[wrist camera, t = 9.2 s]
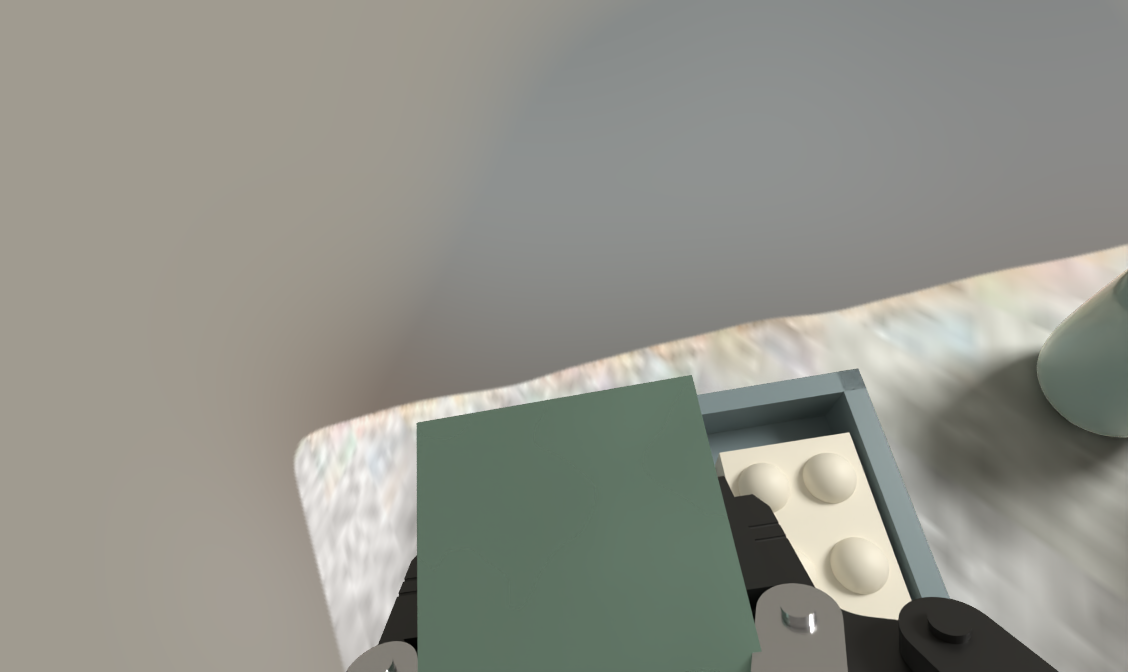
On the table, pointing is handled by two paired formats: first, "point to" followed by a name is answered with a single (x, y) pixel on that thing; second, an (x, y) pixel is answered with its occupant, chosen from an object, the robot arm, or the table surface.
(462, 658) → the tea tin
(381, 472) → the table surface
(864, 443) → the tray
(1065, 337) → the cup
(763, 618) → the robot arm
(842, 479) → the egg carton
